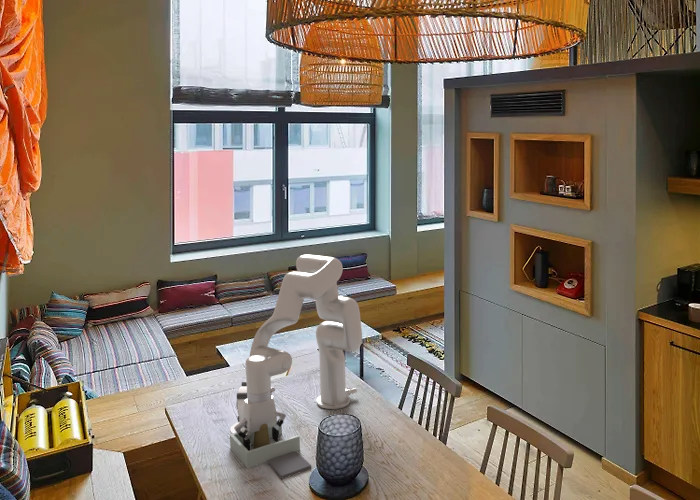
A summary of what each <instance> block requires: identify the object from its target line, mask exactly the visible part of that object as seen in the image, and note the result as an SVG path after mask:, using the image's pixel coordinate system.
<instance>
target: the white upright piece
mask: <svg viewBox="0 0 700 500" xmlns="http://www.w3.org/2000/svg"><path fill="white" fill-rule="evenodd" d="M245 399H247V383H246V381H242V382H241V386H240V387H239V388H238V392H236V410H237V422H236V423H234V424H233V425H231V426H230V428H229V429H230V434H233V433H237V432H236V431H235V429H234V427H235V426H236V425H238V424H239V423H240V422H241V421H243V409H244V402H245ZM243 430H245V428H244V427H242V428H241V431H243Z"/></svg>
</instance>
